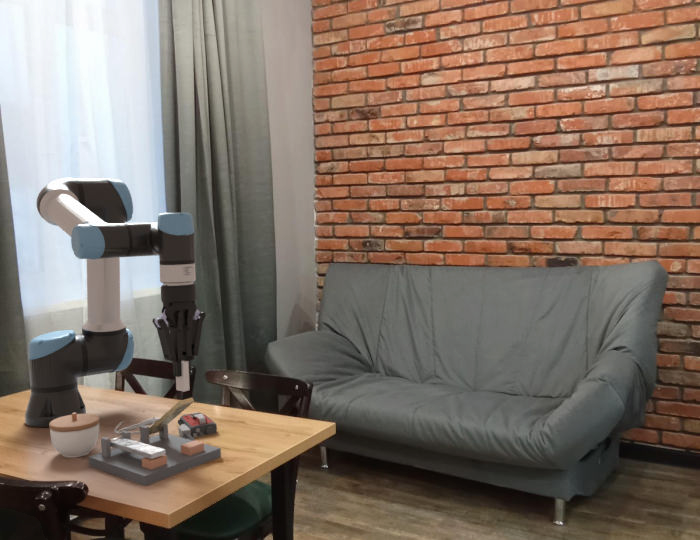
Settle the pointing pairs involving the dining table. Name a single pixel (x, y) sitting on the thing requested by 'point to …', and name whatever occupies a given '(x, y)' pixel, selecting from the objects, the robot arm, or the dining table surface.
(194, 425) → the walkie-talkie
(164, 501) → the dining table surface
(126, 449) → the steel strap
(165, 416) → the brass strap
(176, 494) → the dining table surface
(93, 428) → the lidded jar
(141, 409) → the dining table surface
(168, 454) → the mount plate
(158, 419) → the crossbow
